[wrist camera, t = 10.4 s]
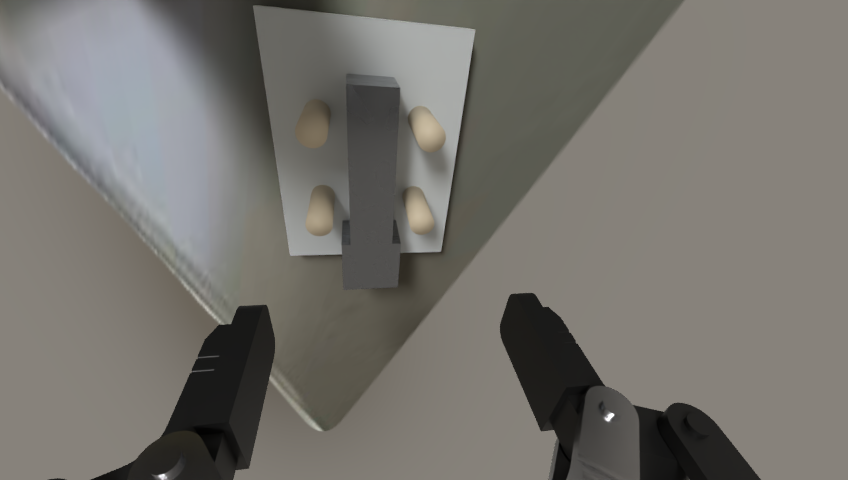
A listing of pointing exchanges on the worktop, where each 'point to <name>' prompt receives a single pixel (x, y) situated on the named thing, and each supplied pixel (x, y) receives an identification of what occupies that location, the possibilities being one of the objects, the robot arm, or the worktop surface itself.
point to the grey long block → (371, 183)
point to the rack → (327, 118)
